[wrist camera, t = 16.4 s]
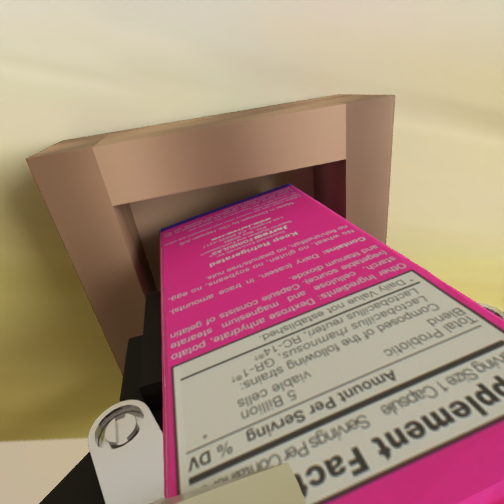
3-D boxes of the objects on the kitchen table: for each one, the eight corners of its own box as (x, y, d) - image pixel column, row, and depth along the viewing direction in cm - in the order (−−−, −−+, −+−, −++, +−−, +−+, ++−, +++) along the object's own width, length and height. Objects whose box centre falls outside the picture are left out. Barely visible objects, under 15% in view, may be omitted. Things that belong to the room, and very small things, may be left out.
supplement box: (319, 289, 16) (583, 620, 6) (203, 333, 15) (279, 779, 5) (295, 176, 13) (715, 440, 3) (154, 225, 13) (118, 727, 3)
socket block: (338, 94, 14) (395, 95, 11) (341, 305, 20) (379, 350, 16) (62, 140, 13) (25, 158, 9) (147, 358, 18) (143, 422, 15)
